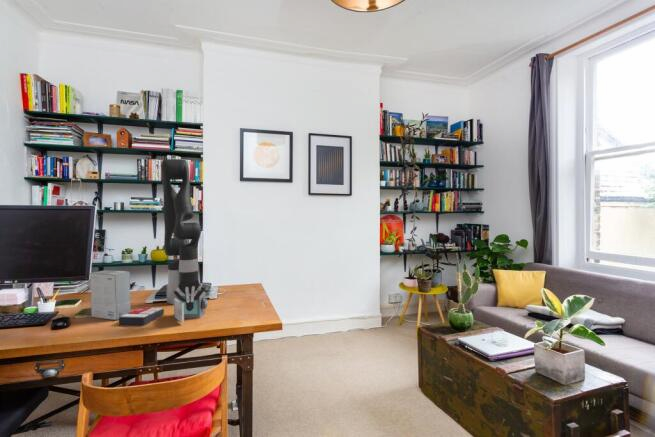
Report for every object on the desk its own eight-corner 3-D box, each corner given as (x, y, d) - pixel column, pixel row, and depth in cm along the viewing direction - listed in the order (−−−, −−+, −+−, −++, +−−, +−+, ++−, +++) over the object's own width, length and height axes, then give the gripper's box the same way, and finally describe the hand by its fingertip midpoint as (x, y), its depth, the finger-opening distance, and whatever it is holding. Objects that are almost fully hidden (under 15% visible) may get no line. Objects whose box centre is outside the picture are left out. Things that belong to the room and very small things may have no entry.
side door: (173, 317, 146) (173, 299, 145) (177, 317, 147) (176, 299, 146) (180, 323, 139) (180, 304, 139) (184, 322, 140) (183, 303, 140)
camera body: (173, 319, 147) (173, 294, 146) (181, 313, 155) (181, 290, 155) (203, 319, 147) (202, 294, 147) (209, 313, 155) (208, 289, 155)
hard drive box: (131, 315, 152) (130, 271, 152) (116, 320, 145) (114, 274, 144) (106, 311, 158) (105, 269, 157) (90, 317, 150) (89, 272, 150)
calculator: (164, 307, 154) (143, 316, 139) (164, 316, 154) (143, 326, 139) (141, 306, 155) (118, 315, 140) (141, 315, 155) (118, 325, 140)
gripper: (172, 273, 135) (174, 315, 136) (207, 269, 142) (208, 310, 143) (170, 270, 142) (171, 311, 142) (203, 267, 149) (204, 305, 149)
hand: (189, 310), depth 143 cm, fingers closed
